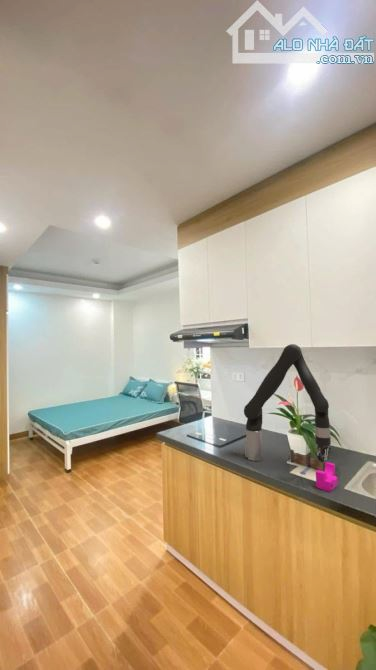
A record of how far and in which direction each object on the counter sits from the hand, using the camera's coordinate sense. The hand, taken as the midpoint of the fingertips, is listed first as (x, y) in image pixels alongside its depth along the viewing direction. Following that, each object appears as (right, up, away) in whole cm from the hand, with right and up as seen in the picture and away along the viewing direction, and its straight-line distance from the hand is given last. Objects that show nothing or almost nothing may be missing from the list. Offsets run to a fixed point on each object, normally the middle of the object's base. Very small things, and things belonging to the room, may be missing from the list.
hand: (323, 467), depth 148 cm
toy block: (-5, -2, -14) cm, 15 cm away
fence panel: (-3, -1, -1) cm, 4 cm away
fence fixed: (-10, -2, +7) cm, 12 cm away
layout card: (-11, -2, 0) cm, 11 cm away
